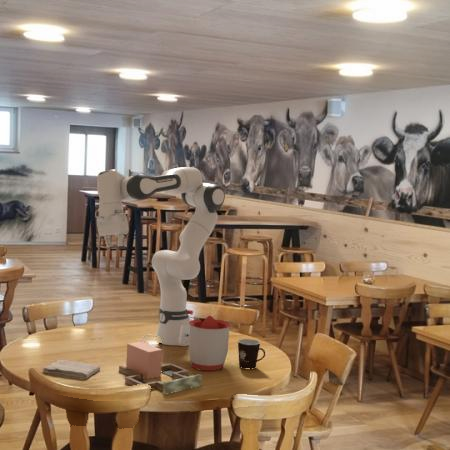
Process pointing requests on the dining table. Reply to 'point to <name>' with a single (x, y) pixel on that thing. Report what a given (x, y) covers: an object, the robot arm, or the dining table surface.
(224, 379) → the dining table surface
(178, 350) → the dining table surface
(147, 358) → the terracotta block
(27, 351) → the dining table surface
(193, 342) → the citrus juicer
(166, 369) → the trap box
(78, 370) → the washcloth
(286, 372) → the dining table surface
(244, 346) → the coffee mug
